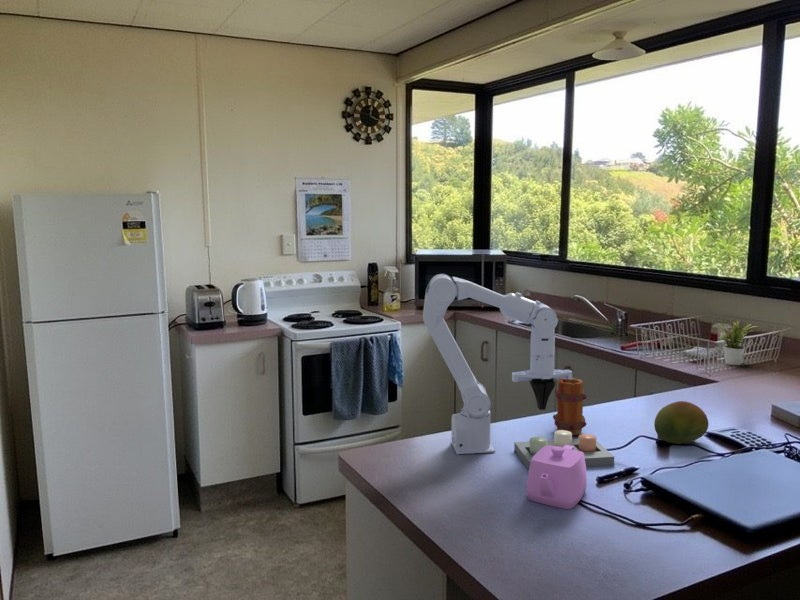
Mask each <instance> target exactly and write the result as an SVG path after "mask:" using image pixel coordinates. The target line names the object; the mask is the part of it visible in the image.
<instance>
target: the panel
mask: <svg viewBox="0 0 800 600" xmlns="http://www.w3.org/2000/svg"><path fill="white" fill-rule="evenodd" d="M547 445H550V446H554V439H550V440H547ZM572 446H574V450H577V451H579V450H578V448H579V438H572ZM513 447H514V448H513V449H514V450H513V451H514V452H515V451H516V452H517V453H516V452H515V453H516V455H517V456H518V455H519V456H518V458H520V460H521V459H522V460H523V461H522V460H521V461H522V462H523V463H525V464H526V465H525V464H524V465H525V466H526V468H527V467H528V468H527V469H528V470H529V467H530V463H531V459H532V458H533V456H534V455H530V441H515V442H514V446H513ZM583 453H584V458H585V464H586V468H587V467H600V466H601V467H602V465H603V466H614V465H615V456H614V455H613V453H611V452H610V451H609V450H608V449H606V447H604V446H603V445H602V444H601V443H600V442H598V441H597V440H596V452H583Z"/></svg>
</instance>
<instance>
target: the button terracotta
mask: <svg viewBox="0 0 800 600" xmlns="http://www.w3.org/2000/svg"><path fill="white" fill-rule="evenodd" d="M578 439H579V448H578V450H579V451H582V452H596V441H597V436H596V435H593V434H590V433H589V434H588V433H581V434H578Z"/></svg>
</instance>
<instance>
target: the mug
mask: <svg viewBox="0 0 800 600" xmlns="http://www.w3.org/2000/svg"><path fill="white" fill-rule="evenodd" d="M557 383H558V384H557V385H558V387H557V388H556V389H555V390H554V393H555V397H556V399H557V403H556V404H557V405H556V406H557V413H556V414H553V415H552V418H553V420H554V426H555V427H556V431H558V430H566V431H569V432H571V433H572V437H573V436H579V435H581V434H582V432H583V429H584V427H586V426H587V422H586V417H585V416H584V415H583V410H584V400H586V399H587V394H586V392H585V390H584V381H583V380H582V379H579V378H578V379H577V378H576V377H572V379H570V380H568V379H558V381H557Z"/></svg>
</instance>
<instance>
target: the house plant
mask: <svg viewBox="0 0 800 600" xmlns="http://www.w3.org/2000/svg"><path fill="white" fill-rule="evenodd" d="M731 321H732V324H733V326H732V329H731V330H730V333H729V332H728V330H727V329H726V326H724V325H722V324H721V323H718V322H717V324H718V325H720V328H721V329H722V330H723V331H724V333H722V334H723V336H719V337H718V338H719V339H721V340H723V341H724V342H725V343H726V344H724V345H723V353H724V360H725V361H724V362H725V364H727V365H731V366H741V365H742V362H743V358H744V354H745V351H746V347H745V346H743V345H744V344H745V343H746V342H748V341H749V340H752V341H753V342H754V341H755V340H754V339H753V337H752V338H750V337H749V338H748V337H745V335H746V334H748V333H749V332H753V331H755V330H753V329H752V330H751V328H757V327H759V326H758V325H753V323H750V324H748V325H746V326H745V327H743V328H740V323H739V320H738V319H736V322H735V321H734V320H733V319H731ZM752 325H753V326H752ZM749 329H750V330H749ZM745 340H746V341H745ZM742 342H743V343H742ZM741 343H742V345H741Z"/></svg>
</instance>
